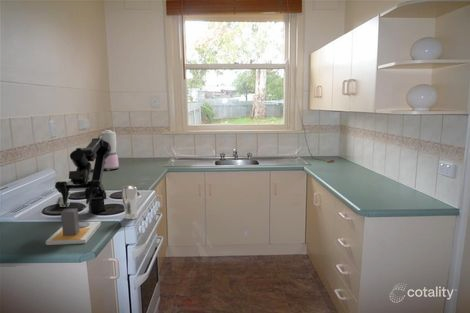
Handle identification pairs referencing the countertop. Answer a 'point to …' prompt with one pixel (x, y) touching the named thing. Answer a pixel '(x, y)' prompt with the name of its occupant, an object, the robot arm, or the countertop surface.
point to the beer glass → (130, 201)
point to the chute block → (70, 222)
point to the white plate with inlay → (82, 237)
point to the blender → (112, 159)
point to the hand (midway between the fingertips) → (75, 203)
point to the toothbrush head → (63, 203)
